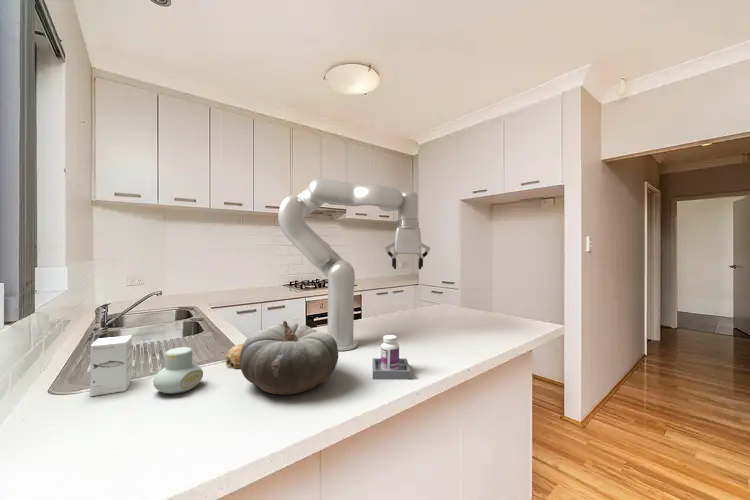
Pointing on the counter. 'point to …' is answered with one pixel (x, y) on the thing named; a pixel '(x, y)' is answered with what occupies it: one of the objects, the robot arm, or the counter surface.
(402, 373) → the tray
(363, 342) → the counter surface
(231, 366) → the bread roll
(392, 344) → the pill bottle
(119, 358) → the supplement box
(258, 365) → the gourd
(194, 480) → the counter surface
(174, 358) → the air freshener
